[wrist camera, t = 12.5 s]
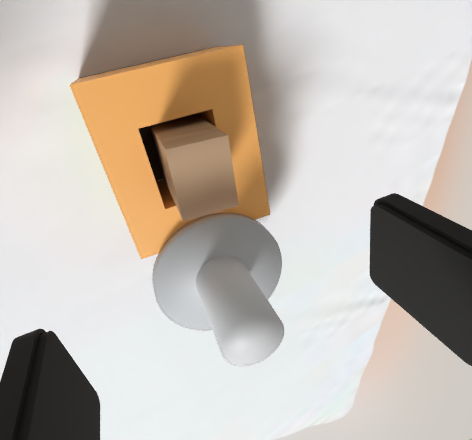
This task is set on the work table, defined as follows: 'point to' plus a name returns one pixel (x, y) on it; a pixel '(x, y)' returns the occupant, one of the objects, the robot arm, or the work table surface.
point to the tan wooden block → (196, 165)
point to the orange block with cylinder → (165, 210)
